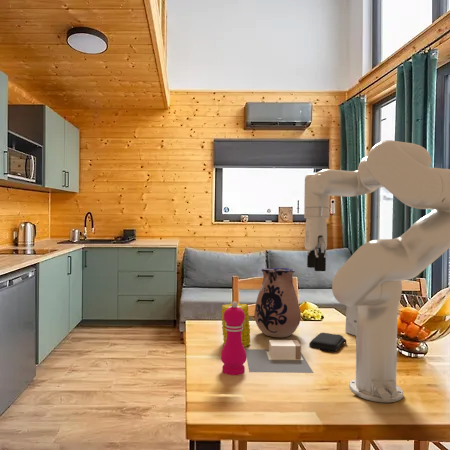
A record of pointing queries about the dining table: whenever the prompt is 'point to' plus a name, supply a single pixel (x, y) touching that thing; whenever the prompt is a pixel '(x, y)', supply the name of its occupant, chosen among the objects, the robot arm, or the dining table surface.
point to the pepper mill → (233, 342)
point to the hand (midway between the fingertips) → (316, 269)
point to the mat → (274, 363)
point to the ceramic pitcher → (277, 303)
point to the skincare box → (351, 319)
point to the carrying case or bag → (327, 342)
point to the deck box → (284, 349)
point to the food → (246, 330)
